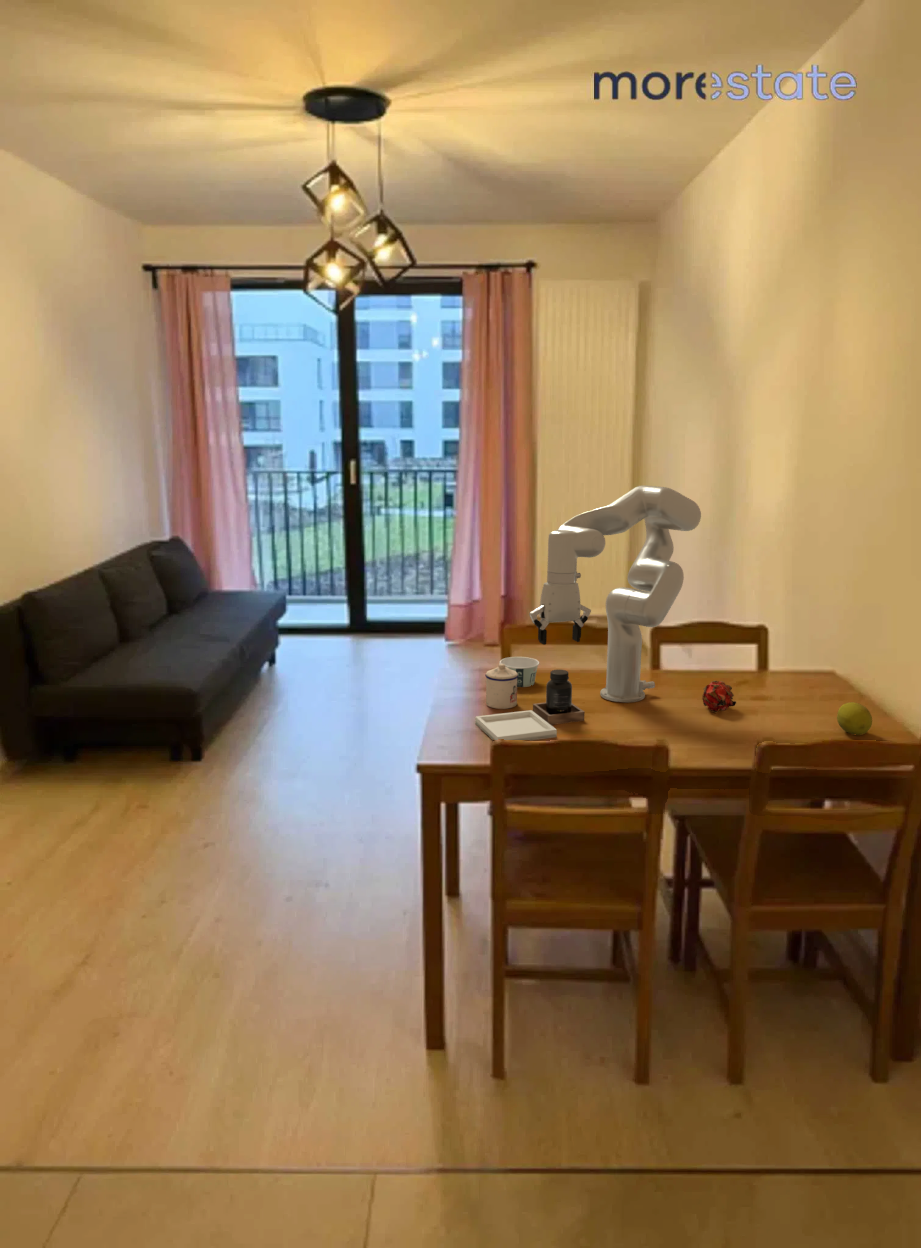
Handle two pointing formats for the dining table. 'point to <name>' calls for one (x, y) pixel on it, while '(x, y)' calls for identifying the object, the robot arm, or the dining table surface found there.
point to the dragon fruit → (718, 696)
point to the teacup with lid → (501, 687)
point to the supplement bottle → (558, 693)
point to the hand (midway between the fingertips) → (559, 642)
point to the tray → (516, 726)
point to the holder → (573, 716)
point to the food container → (522, 669)
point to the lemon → (854, 718)
